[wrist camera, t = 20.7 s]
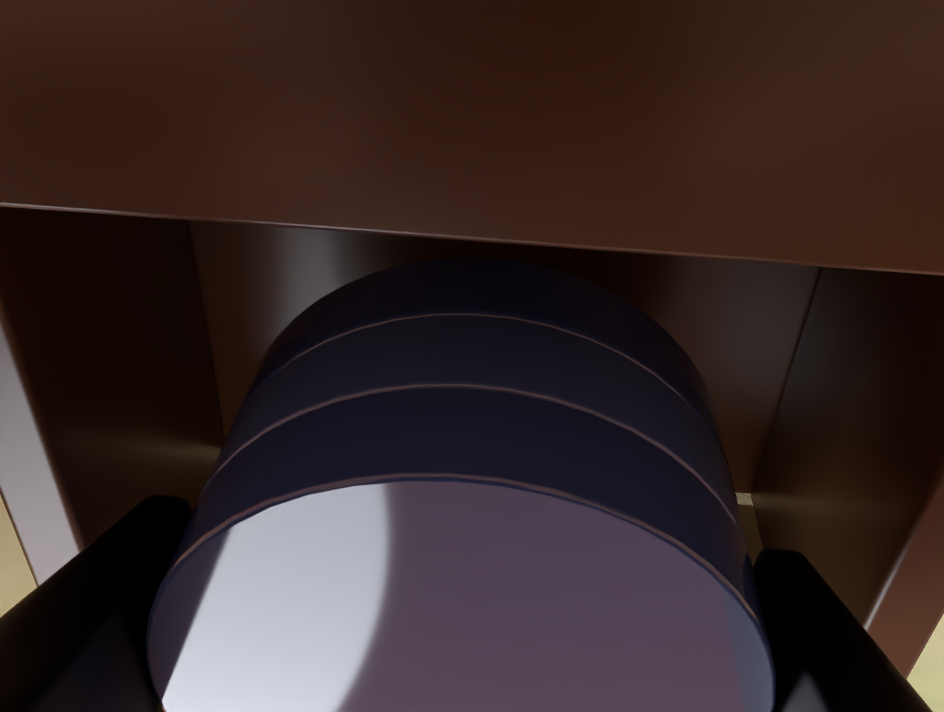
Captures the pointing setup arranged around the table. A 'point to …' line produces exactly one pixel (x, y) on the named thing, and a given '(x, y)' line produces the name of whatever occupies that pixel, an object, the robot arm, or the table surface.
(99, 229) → the drawer
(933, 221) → the cabinet
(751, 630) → the blue short cylinder
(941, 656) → the table surface
